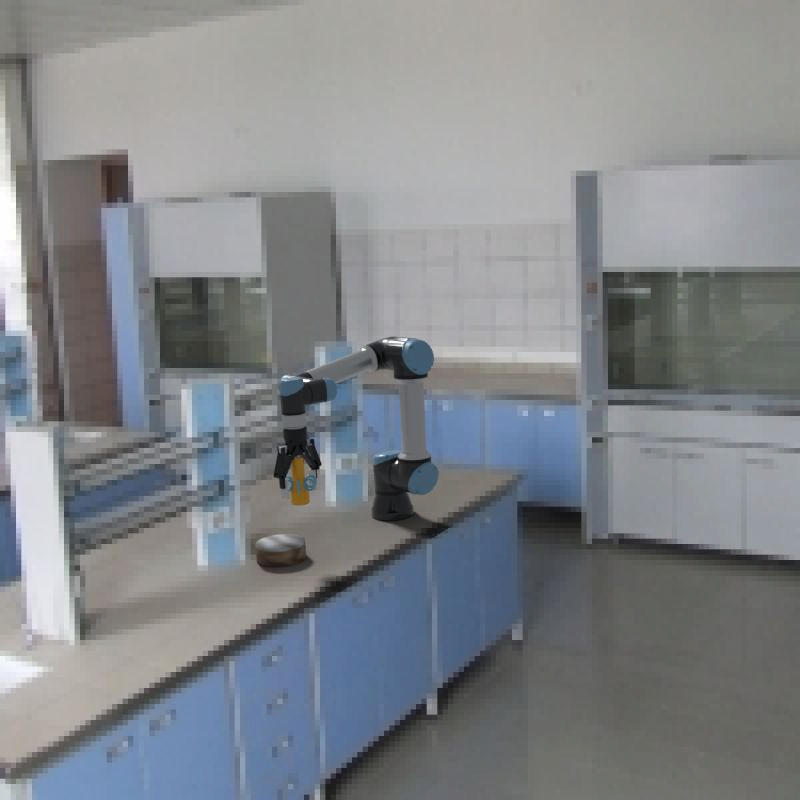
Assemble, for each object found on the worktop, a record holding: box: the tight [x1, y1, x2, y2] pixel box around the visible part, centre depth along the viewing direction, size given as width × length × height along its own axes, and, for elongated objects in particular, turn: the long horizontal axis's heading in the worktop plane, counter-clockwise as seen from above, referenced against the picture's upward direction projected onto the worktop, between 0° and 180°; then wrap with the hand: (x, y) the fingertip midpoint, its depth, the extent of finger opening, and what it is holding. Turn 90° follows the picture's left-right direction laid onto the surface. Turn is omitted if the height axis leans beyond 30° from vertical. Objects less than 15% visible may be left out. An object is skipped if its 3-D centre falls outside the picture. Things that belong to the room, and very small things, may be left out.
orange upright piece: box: [286, 455, 318, 506], centre depth 343 cm, size 12×10×15 cm
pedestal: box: [254, 533, 307, 568], centre depth 348 cm, size 16×16×6 cm
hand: (299, 493), depth 344 cm, fingers closed on orange upright piece, 11 cm apart
